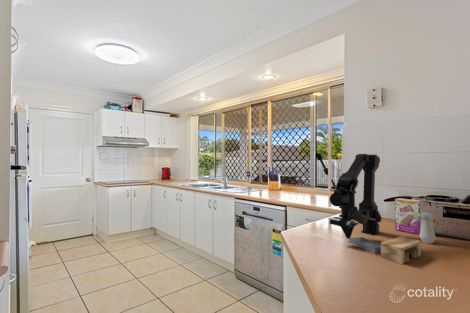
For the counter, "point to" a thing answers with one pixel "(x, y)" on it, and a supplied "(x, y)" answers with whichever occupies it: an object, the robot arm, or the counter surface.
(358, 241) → the slate tile
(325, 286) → the counter surface
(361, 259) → the counter surface
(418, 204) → the candy bar box
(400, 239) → the oak block
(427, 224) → the salt shaker
